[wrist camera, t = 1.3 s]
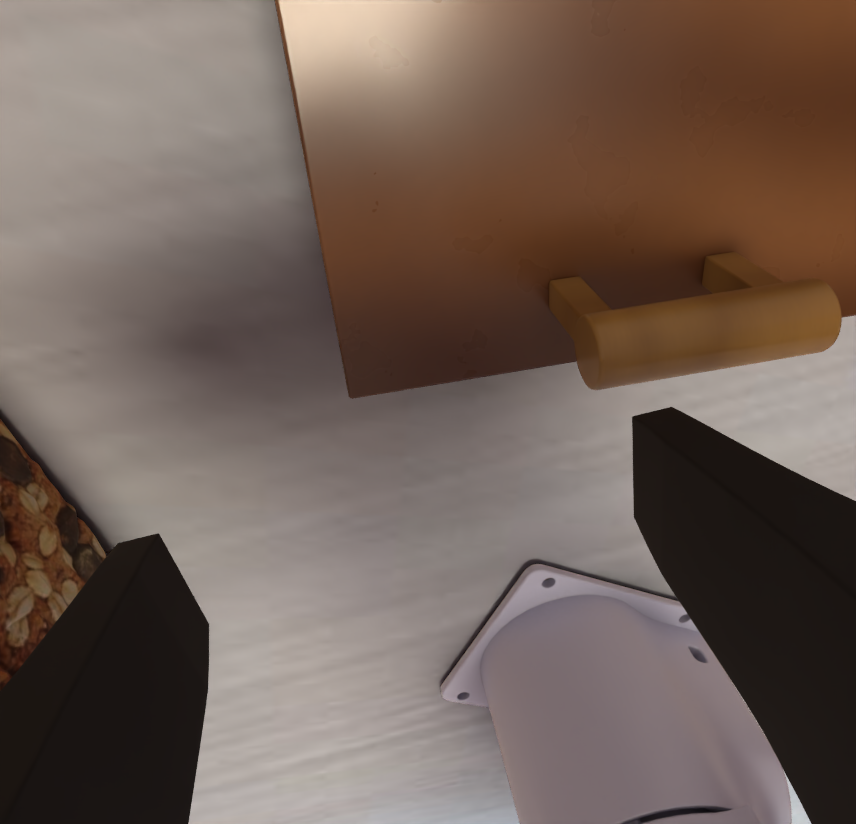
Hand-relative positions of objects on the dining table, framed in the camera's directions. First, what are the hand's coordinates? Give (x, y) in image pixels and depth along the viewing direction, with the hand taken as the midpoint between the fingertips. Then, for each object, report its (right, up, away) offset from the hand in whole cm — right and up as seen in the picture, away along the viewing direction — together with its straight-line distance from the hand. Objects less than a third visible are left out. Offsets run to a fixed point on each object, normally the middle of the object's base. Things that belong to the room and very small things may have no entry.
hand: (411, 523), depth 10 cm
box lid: (+4, +8, +3) cm, 10 cm away
